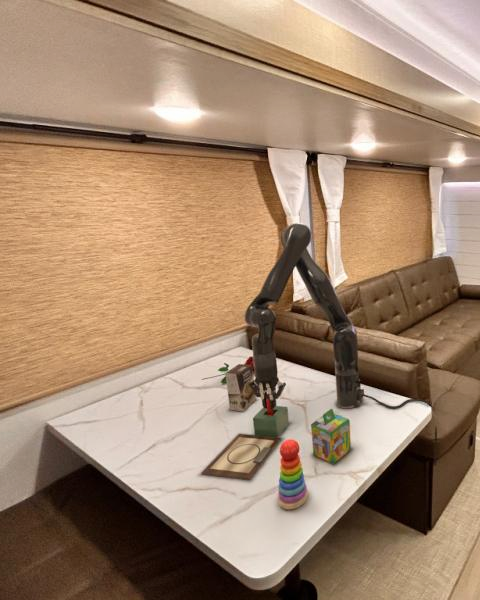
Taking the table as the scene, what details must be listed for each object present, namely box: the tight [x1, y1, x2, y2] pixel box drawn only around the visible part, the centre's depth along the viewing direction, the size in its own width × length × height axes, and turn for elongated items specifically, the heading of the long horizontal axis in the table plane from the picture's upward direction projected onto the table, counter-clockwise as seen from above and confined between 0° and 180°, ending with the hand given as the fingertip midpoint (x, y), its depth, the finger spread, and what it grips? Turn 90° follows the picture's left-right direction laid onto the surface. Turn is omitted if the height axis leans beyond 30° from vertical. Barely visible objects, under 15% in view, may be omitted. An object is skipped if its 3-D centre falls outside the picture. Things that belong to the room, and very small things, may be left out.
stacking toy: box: [277, 438, 309, 510], centre depth 101 cm, size 8×8×19 cm
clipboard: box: [201, 433, 282, 481], centre depth 122 cm, size 16×20×1 cm
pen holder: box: [252, 405, 290, 438], centre depth 135 cm, size 9×9×7 cm
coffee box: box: [224, 363, 257, 412], centre depth 150 cm, size 9×6×16 cm
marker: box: [265, 393, 274, 416], centre depth 134 cm, size 2×2×13 cm
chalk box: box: [310, 408, 352, 465], centre depth 121 cm, size 9×9×15 cm
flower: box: [201, 356, 254, 384], centre depth 175 cm, size 9×10×30 cm
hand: (269, 407), depth 134 cm, fingers closed on marker, 2 cm apart
